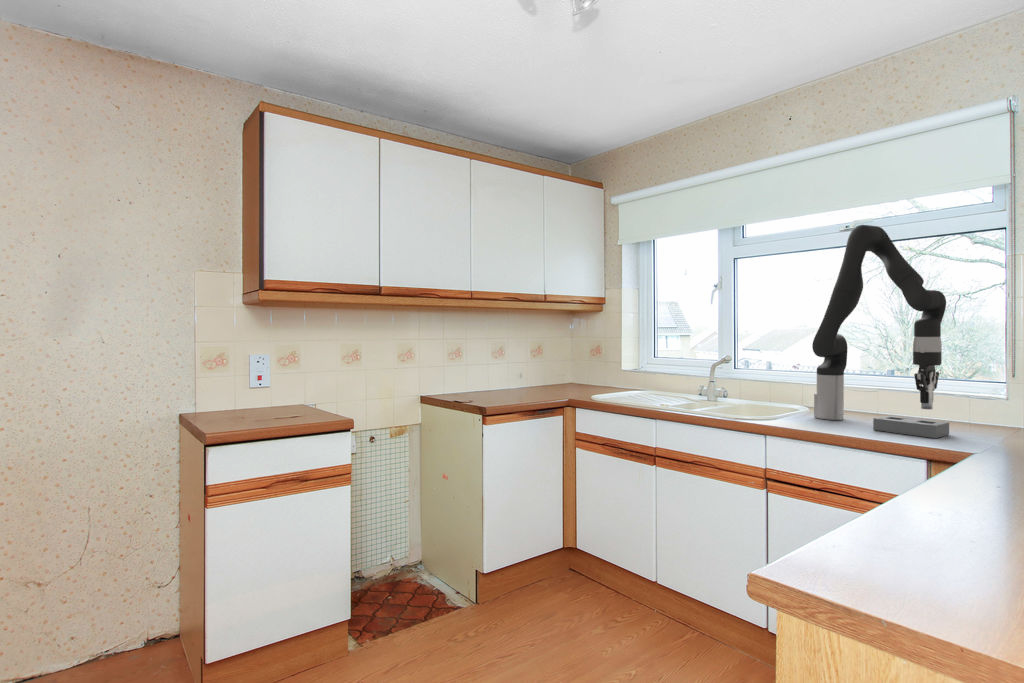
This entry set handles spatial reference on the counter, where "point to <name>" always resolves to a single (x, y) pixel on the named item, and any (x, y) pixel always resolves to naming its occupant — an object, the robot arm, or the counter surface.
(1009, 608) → the counter surface
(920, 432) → the hole block
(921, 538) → the counter surface
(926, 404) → the steel peg
